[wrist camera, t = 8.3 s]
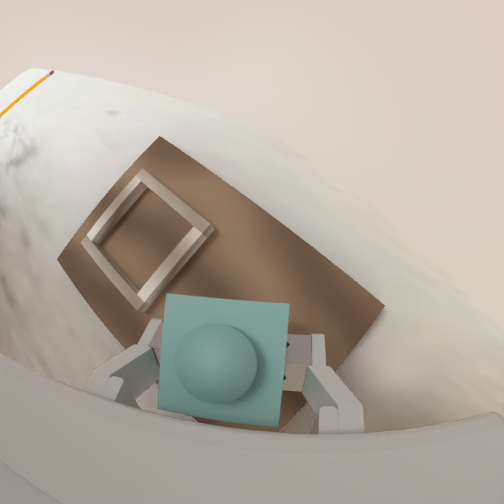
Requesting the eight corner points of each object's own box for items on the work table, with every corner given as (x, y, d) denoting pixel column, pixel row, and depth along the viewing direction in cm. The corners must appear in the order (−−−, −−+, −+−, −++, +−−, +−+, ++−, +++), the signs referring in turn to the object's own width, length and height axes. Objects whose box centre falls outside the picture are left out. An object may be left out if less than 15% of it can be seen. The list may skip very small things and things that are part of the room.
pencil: (54, 74, 33) (52, 72, 32) (-17, 136, 33) (-19, 134, 32) (54, 72, 33) (52, 69, 32) (-17, 133, 33) (-19, 131, 33)
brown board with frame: (249, 452, 18) (244, 467, 15) (67, 262, 23) (48, 256, 20) (378, 306, 19) (390, 304, 17) (165, 145, 25) (154, 128, 22)
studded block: (281, 382, 15) (277, 435, 7) (210, 375, 16) (147, 414, 8) (286, 312, 16) (290, 301, 8) (216, 307, 17) (156, 290, 9)
